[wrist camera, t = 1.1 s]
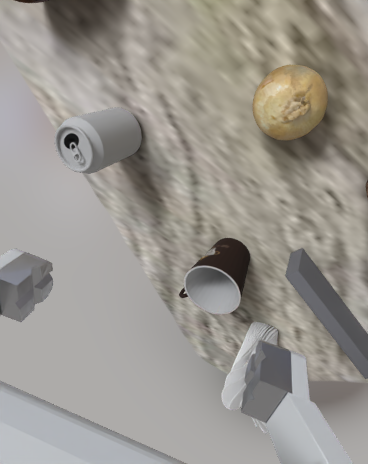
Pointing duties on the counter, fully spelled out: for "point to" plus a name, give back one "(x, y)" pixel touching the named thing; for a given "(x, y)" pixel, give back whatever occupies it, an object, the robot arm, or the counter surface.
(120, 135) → the can
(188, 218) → the counter surface
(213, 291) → the coffee mug
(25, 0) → the tin
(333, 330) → the wall
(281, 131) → the onion
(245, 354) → the shell sculpture
